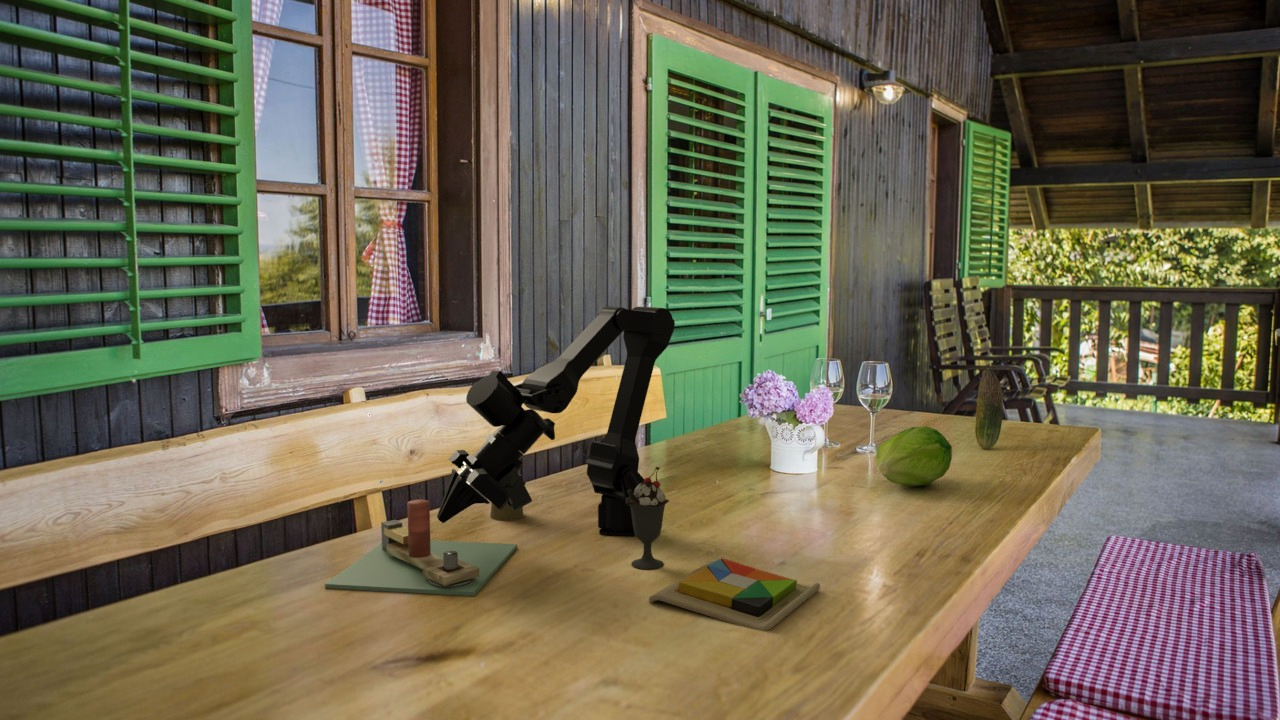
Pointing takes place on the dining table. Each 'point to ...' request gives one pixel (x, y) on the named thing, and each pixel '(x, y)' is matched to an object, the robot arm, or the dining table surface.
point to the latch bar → (427, 548)
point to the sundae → (647, 518)
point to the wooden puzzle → (737, 594)
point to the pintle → (450, 570)
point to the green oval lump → (914, 456)
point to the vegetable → (988, 410)
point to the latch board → (402, 576)
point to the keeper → (393, 533)
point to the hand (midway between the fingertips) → (439, 520)
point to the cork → (505, 512)
